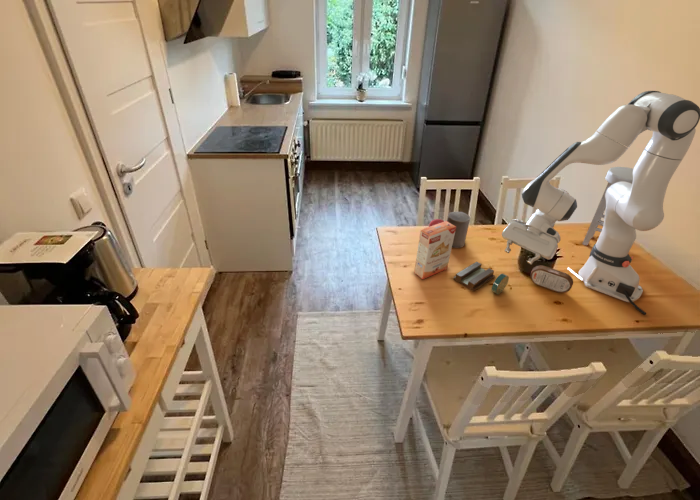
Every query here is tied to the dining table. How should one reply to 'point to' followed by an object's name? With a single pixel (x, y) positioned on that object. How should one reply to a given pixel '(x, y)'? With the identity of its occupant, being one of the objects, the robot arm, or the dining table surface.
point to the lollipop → (435, 222)
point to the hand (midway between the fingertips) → (517, 257)
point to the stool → (612, 177)
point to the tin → (551, 279)
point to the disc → (500, 283)
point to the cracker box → (434, 249)
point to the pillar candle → (459, 227)
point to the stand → (474, 276)
